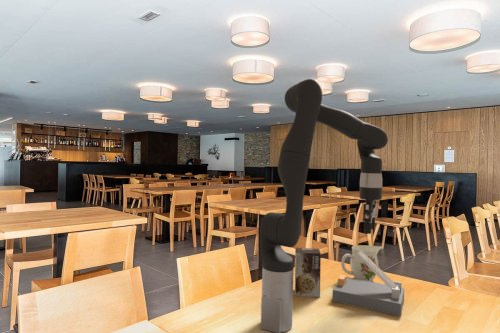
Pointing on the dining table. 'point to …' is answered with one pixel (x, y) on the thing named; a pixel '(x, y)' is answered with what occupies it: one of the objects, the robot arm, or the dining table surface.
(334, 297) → the block
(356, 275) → the pitcher
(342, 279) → the block
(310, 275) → the coffee box
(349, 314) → the dining table surface
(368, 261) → the metal hinged lever
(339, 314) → the dining table surface
